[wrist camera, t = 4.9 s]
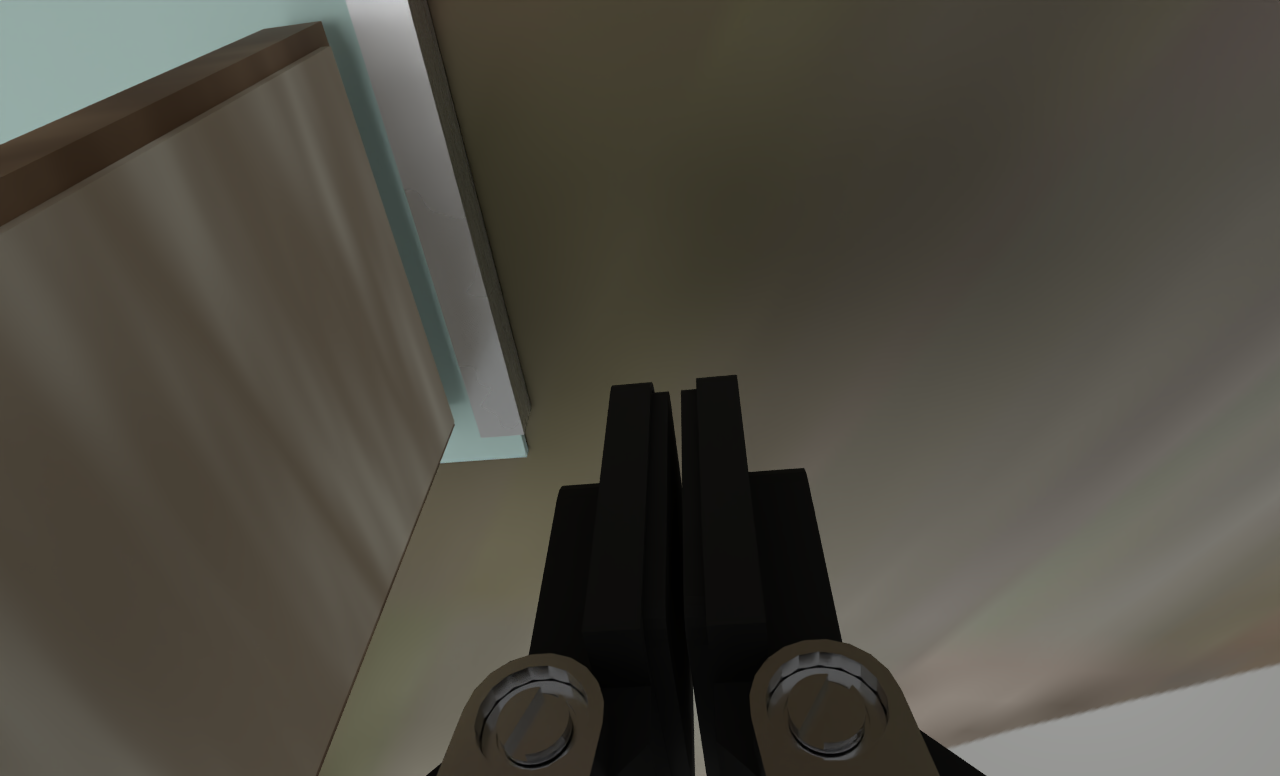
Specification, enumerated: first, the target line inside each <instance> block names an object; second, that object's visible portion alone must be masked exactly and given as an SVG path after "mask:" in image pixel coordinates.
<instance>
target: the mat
mask: <svg viewBox="0 0 1280 776" xmlns="http://www.w3.org/2000/svg"><path fill="white" fill-rule="evenodd" d="M317 21H321V22H322V25H323V28H324V31H325V34H326V37H327V40H328V43H329V46H331V49H332V52H333V55H334V58H335V61H336V64H337V67H338V70H339V73H340V76H341V79H342V82H343V85H344V88H345V91H346V94H347V97H348V100H349V103H350V106H351V109H352V112H353V115H354V118H355V121H356V124H357V127H358V130H359V133H360V137H361V140H362V143H363V146H364V149H365V152H366V155H367V158H368V161H369V164H370V167H371V170H372V173H373V176H374V179H375V182H376V185H377V188H378V191H379V194H380V197H381V200H382V203H383V206H384V209H385V212H386V215H387V218H388V221H389V224H390V227H391V230H392V234H393V237H394V240H395V243H396V246H397V249H398V252H399V255H400V258H401V261H402V264H403V267H404V270H405V273H406V276H407V279H408V282H409V285H410V288H411V291H412V294H413V297H414V300H415V303H416V306H417V309H418V312H419V315H420V318H421V321H422V324H423V327H424V331H425V334H426V337H427V340H428V343H429V346H430V349H431V352H432V355H433V358H434V361H435V364H436V367H437V370H438V373H439V376H440V379H441V382H442V385H443V388H444V391H445V394H446V397H447V400H448V403H449V406H450V409H451V412H452V415H453V418H454V421H455V422H454V424H455V426H454V428H453V431H452V434H451V436H450V439H449V441H448V444H447V446H446V449H445V452H444V454H443V457H442V459H441V462H440V463H449V462H463V461H477V460H490V459H504V458H518V457H527V454H528V447H527V443H526V439H525V435H514V436H500V437H487V438H481V436H480V433H479V430H478V427H477V423H476V420H475V417H474V414H473V410H472V407H471V404H470V401H469V397H468V394H467V391H466V388H465V385H464V381H463V378H462V375H461V372H460V368H459V365H458V362H457V359H456V356H455V352H454V349H453V346H452V343H451V339H450V336H449V333H448V330H447V327H446V323H445V320H444V317H443V314H442V310H441V307H440V304H439V301H438V298H437V294H436V291H435V288H434V285H433V281H432V278H431V275H430V272H429V269H428V265H427V262H426V259H425V256H424V252H423V249H422V246H421V243H420V240H419V236H418V233H417V230H416V227H415V223H414V220H413V217H412V214H411V211H410V207H409V204H408V201H407V198H406V194H405V191H404V188H403V185H402V182H401V178H400V175H399V172H398V169H397V165H396V162H395V159H394V156H393V153H392V149H391V146H390V143H389V140H388V136H387V133H386V130H385V127H384V123H383V120H382V117H381V114H380V111H379V107H378V104H377V101H376V98H375V94H374V91H373V88H372V85H371V82H370V78H369V75H368V72H367V69H366V65H365V62H364V59H363V56H362V53H361V49H360V46H359V43H358V40H357V36H356V33H355V30H354V27H353V24H352V20H351V17H350V14H349V11H348V7H347V4H346V1H345V0H0V145H1V144H3V143H5V142H8V141H10V140H12V139H14V138H17V137H19V136H21V135H23V134H26V133H28V132H30V131H33V130H35V129H37V128H39V127H42V126H44V125H46V124H48V123H51V122H53V121H55V120H58V119H60V118H62V117H64V116H67V115H69V114H71V113H73V112H76V111H78V110H80V109H83V108H85V107H87V106H89V105H92V104H94V103H96V102H98V101H101V100H103V99H105V98H108V97H110V96H112V95H114V94H117V93H119V92H121V91H123V90H126V89H128V88H130V87H133V86H135V85H137V84H139V83H142V82H144V81H146V80H148V79H151V78H153V77H155V76H158V75H160V74H162V73H164V72H167V71H169V70H171V69H173V68H176V67H178V66H180V65H183V64H185V63H187V62H189V61H192V60H194V59H196V58H198V57H201V56H203V55H205V54H208V53H210V52H212V51H214V50H217V49H219V48H221V47H223V46H226V45H228V44H230V43H233V42H235V41H237V40H239V39H242V38H244V37H246V36H248V35H251V34H253V33H255V32H258V31H260V30H262V29H266V28H273V27H281V26H288V25H295V24H303V23H310V22H317Z"/></svg>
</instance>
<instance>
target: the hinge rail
mask: <svg viewBox="0 0 1280 776" xmlns="http://www.w3.org/2000/svg"><path fill="white" fill-rule="evenodd" d="M345 1H346V4H347V7H348V11H349V14H350V17H351V20H352V24H353V27H354V30H355V33H356V36H357V40H358V43H359V46H360V49H361V53H362V56H363V59H364V62H365V65H366V69H367V72H368V75H369V78H370V82H371V85H372V88H373V91H374V94H375V98H376V101H377V104H378V107H379V111H380V114H381V117H382V120H383V123H384V127H385V130H386V133H387V136H388V140H389V143H390V146H391V149H392V153H393V156H394V159H395V162H396V165H397V169H398V172H399V175H400V178H401V182H402V185H403V188H404V191H405V194H406V198H407V201H408V204H409V207H410V211H411V214H412V217H413V220H414V223H415V227H416V230H417V233H418V236H419V240H420V243H421V246H422V249H423V252H424V256H425V259H426V262H427V265H428V269H429V272H430V275H431V278H432V281H433V285H434V288H435V291H436V294H437V298H438V301H439V304H440V307H441V310H442V314H443V317H444V320H445V323H446V327H447V330H448V333H449V336H450V339H451V343H452V346H453V349H454V352H455V356H456V359H457V362H458V365H459V368H460V372H461V375H462V378H463V381H464V385H465V388H466V391H467V394H468V397H469V401H470V404H471V407H472V410H473V414H474V417H475V420H476V423H477V427H478V430H479V433H480V436H481V438H487V437H500V436H514V435H524V434H525V430H526V426H527V423H528V419H529V415H530V411H531V405H530V401H529V397H528V393H527V390H526V386H525V382H524V378H523V374H522V370H521V366H520V362H519V358H518V354H517V351H516V347H515V343H514V339H513V335H512V331H511V327H510V323H509V319H508V315H507V312H506V308H505V304H504V300H503V296H502V292H501V288H500V284H499V280H498V276H497V273H496V269H495V265H494V261H493V257H492V253H491V249H490V245H489V241H488V237H487V234H486V230H485V226H484V222H483V218H482V214H481V210H480V206H479V202H478V198H477V195H476V191H475V187H474V183H473V179H472V175H471V171H470V167H469V163H468V159H467V156H466V152H465V148H464V144H463V140H462V136H461V132H460V128H459V124H458V120H457V117H456V113H455V109H454V105H453V101H452V97H451V93H450V89H449V85H448V81H447V78H446V74H445V70H444V66H443V62H442V58H441V54H440V50H439V46H438V42H437V39H436V35H435V31H434V27H433V23H432V19H431V15H430V11H429V7H428V3H427V0H345Z"/></svg>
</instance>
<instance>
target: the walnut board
mask: <svg viewBox="0 0 1280 776" xmlns="http://www.w3.org/2000/svg"><path fill="white" fill-rule="evenodd" d="M454 422H455V421H454V418H453V415H452V412H451V409H450V406H449V403H448V400H447V397H446V394H445V391H444V388H443V385H442V382H441V379H440V376H439V373H438V370H437V367H436V364H435V361H434V358H433V355H432V352H431V349H430V346H429V343H428V340H427V337H426V334H425V331H424V327H423V324H422V321H421V318H420V315H419V312H418V309H417V306H416V303H415V300H414V297H413V294H412V291H411V288H410V285H409V282H408V279H407V276H406V273H405V270H404V267H403V264H402V261H401V258H400V255H399V252H398V249H397V246H396V243H395V240H394V237H393V234H392V230H391V227H390V224H389V221H388V218H387V215H386V212H385V209H384V206H383V203H382V200H381V197H380V194H379V191H378V188H377V185H376V182H375V179H374V176H373V173H372V170H371V167H370V164H369V161H368V158H367V155H366V152H365V149H364V146H363V143H362V140H361V137H360V133H359V130H358V127H357V124H356V121H355V118H354V115H353V112H352V109H351V106H350V103H349V100H348V97H347V94H346V91H345V88H344V85H343V82H342V79H341V76H340V73H339V70H338V67H337V64H336V61H335V58H334V55H333V52H332V49H331V46H329V43H328V40H327V37H326V34H325V31H324V28H323V25H322V22H321V21H317V22H310V23H303V24H295V25H288V26H281V27H273V28H266V29H262V30H260V31H258V32H255V33H253V34H251V35H248V36H246V37H244V38H242V39H239V40H237V41H235V42H233V43H230V44H228V45H226V46H223V47H221V48H219V49H217V50H214V51H212V52H210V53H208V54H205V55H203V56H201V57H198V58H196V59H194V60H192V61H189V62H187V63H185V64H183V65H180V66H178V67H176V68H173V69H171V70H169V71H167V72H164V73H162V74H160V75H158V76H155V77H153V78H151V79H148V80H146V81H144V82H142V83H139V84H137V85H135V86H133V87H130V88H128V89H126V90H123V91H121V92H119V93H117V94H114V95H112V96H110V97H108V98H105V99H103V100H101V101H98V102H96V103H94V104H92V105H89V106H87V107H85V108H83V109H80V110H78V111H76V112H73V113H71V114H69V115H67V116H64V117H62V118H60V119H58V120H55V121H53V122H51V123H48V124H46V125H44V126H42V127H39V128H37V129H35V130H33V131H30V132H28V133H26V134H23V135H21V136H19V137H17V138H14V139H12V140H10V141H8V142H5V143H3V144H1V145H0V776H318V775H319V772H320V770H321V767H322V764H323V762H324V759H325V757H326V754H327V752H328V749H329V747H330V744H331V741H332V739H333V736H334V734H335V731H336V729H337V726H338V723H339V721H340V718H341V716H342V713H343V711H344V708H345V705H346V703H347V700H348V698H349V695H350V693H351V690H352V688H353V685H354V682H355V680H356V677H357V675H358V672H359V670H360V667H361V664H362V662H363V659H364V657H365V654H366V652H367V649H368V646H369V644H370V641H371V639H372V636H373V634H374V631H375V629H376V626H377V623H378V621H379V618H380V616H381V613H382V611H383V608H384V605H385V603H386V600H387V598H388V595H389V593H390V590H391V587H392V585H393V582H394V580H395V577H396V575H397V572H398V570H399V567H400V564H401V562H402V559H403V557H404V554H405V552H406V549H407V546H408V544H409V541H410V539H411V536H412V534H413V531H414V528H415V526H416V523H417V521H418V518H419V516H420V513H421V511H422V508H423V505H424V503H425V500H426V498H427V495H428V493H429V490H430V487H431V485H432V482H433V480H434V477H435V475H436V472H437V469H438V467H439V464H440V462H441V459H442V457H443V454H444V452H445V449H446V446H447V444H448V441H449V439H450V436H451V434H452V431H453V428H454V426H455V424H454Z"/></svg>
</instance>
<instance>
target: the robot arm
mask: <svg viewBox="0 0 1280 776" xmlns="http://www.w3.org/2000/svg"><path fill="white" fill-rule="evenodd" d="M696 387H697V389H692V390H681V427H682V483H681V476H680V468H679V461H678V453H677V446H676V438H675V431H674V423H673V416H672V408H671V401H670V395H669V392H657V393H655V392H654V387H653V383H652V382H649V383H637V384H626V385H614V386H612V387H611V391H610V399H609V408H608V416H607V425H606V433H605V441H604V450H603V458H602V467H601V475H600V483H596V484H583V485H569V486H562V487H561V489H560V490H559V494H558V497H557V502H556V508H555V513H554V519H553V524H552V530H551V535H550V541H549V546H548V552H547V557H546V563H545V568H544V574H543V580H542V585H541V591H540V596H539V602H538V607H537V613H536V618H535V624H534V629H533V635H532V640H531V646H530V651H529V655H528V656H525V657H522V658H518V659H515V660H512V661H510V662H508V663H506V664H505V665H503V666H502V667H500V668H498V669H497V670H495V671H493V672H492V673H490V674H489V675H488V676H487V677H486V678H485V680H484V681H483V682H482V683H481V684H480V685H479V686H478V687H477V688H476V689H475V690H474V692H473V693H472V695H471V697H470V699H469V700H468V702H467V704H466V706H465V707H464V709H463V712H462V714H461V717H460V719H459V722H458V724H457V727H456V729H455V731H454V734H453V736H452V739H451V741H450V744H449V746H448V749H447V751H446V754H445V756H444V759H443V761H442V763H441V764H440V765H438V766H437V767H436V768H435V769H434V770H432V771H431V772H430V773H429V774H428V775H426V776H695V758H694V712H693V688H694V695H695V701H696V708H697V715H698V721H699V728H700V734H701V741H702V748H703V754H704V761H705V767H706V774H707V776H986V775H984V774H983V773H981V772H980V771H979V770H977V769H976V768H974V767H973V766H971V765H970V764H968V763H967V762H966V761H964V760H962V759H961V758H959V757H958V756H957V755H955V754H954V753H953V752H951V751H950V750H948V749H947V748H945V747H944V746H942V745H941V744H940V743H938V742H937V741H935V740H934V739H932V738H931V737H929V736H928V735H927V734H925V733H924V732H922V731H921V730H919V728H918V726H917V724H916V721H915V719H914V717H913V715H912V712H911V710H910V708H909V706H908V703H907V701H906V699H905V697H904V694H903V692H902V690H901V688H900V687H899V685H898V684H897V682H896V681H895V679H894V677H893V676H892V674H891V673H890V671H889V670H888V669H887V668H886V667H885V666H884V665H882V664H881V663H880V662H879V661H878V660H877V659H876V658H874V657H873V656H872V655H871V654H869V653H867V652H865V651H863V650H861V649H859V648H857V647H855V646H853V645H851V644H847V643H842V639H841V634H840V629H839V625H838V620H837V615H836V610H835V606H834V601H833V596H832V592H831V587H830V582H829V577H828V573H827V568H826V563H825V558H824V554H823V549H822V544H821V539H820V535H819V530H818V525H817V521H816V516H815V511H814V506H813V502H812V497H811V492H810V487H809V483H808V478H807V474H806V471H805V469H804V468H798V469H784V470H771V471H758V472H748V465H747V457H746V448H745V440H744V431H743V423H742V414H741V406H740V397H739V389H738V381H737V375H729V376H717V377H706V378H696Z"/></svg>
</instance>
